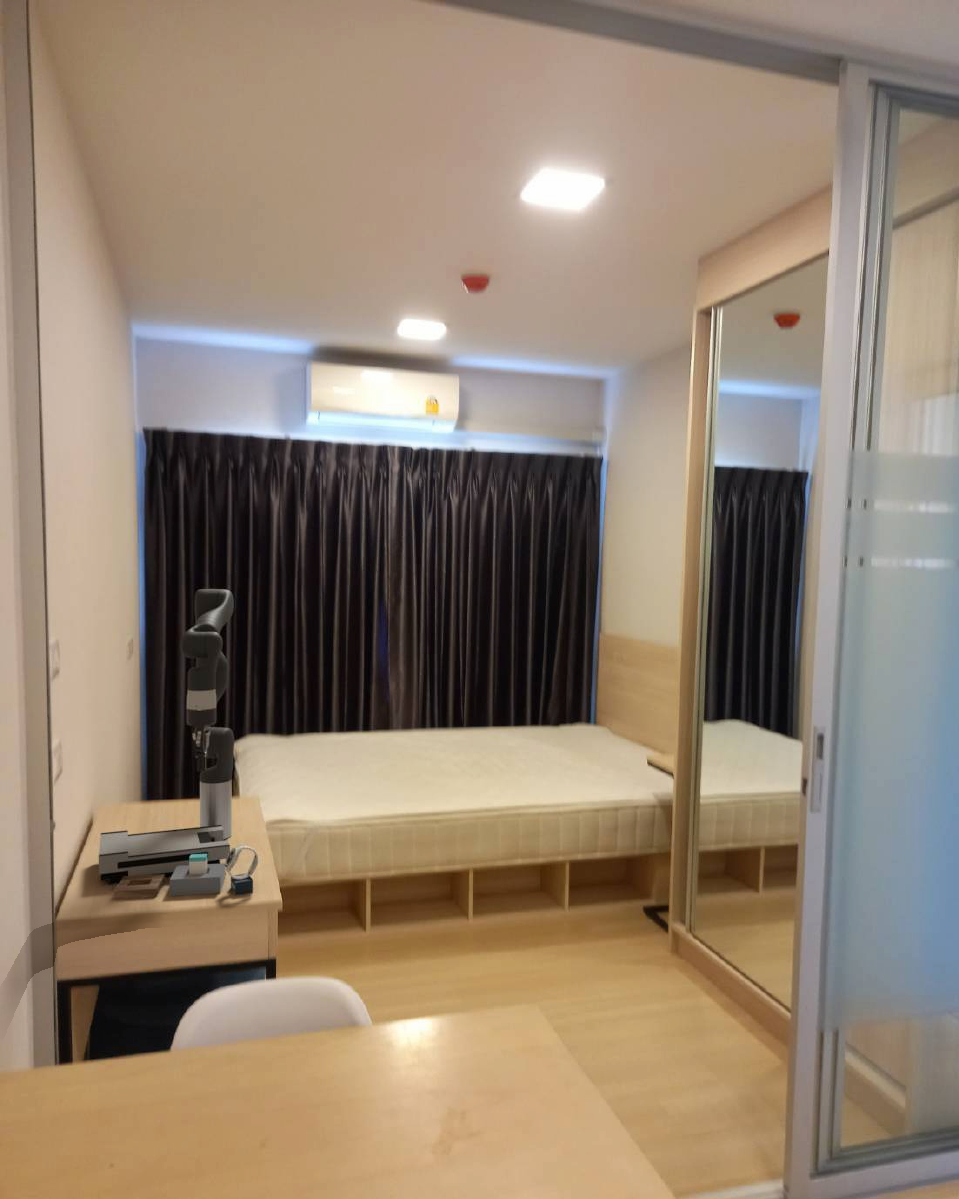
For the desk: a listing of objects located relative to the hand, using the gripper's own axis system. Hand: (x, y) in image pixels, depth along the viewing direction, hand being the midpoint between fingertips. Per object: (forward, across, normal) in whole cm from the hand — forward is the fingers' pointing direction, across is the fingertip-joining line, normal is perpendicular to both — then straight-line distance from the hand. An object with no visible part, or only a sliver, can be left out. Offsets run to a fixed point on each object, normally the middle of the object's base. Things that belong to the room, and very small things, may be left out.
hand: (201, 770), depth 219 cm
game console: (+28, -6, -10) cm, 30 cm away
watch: (+27, +16, +12) cm, 34 cm away
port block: (+27, +12, +1) cm, 30 cm away
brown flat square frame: (+27, +12, -13) cm, 32 cm away
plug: (+27, +12, +1) cm, 30 cm away
